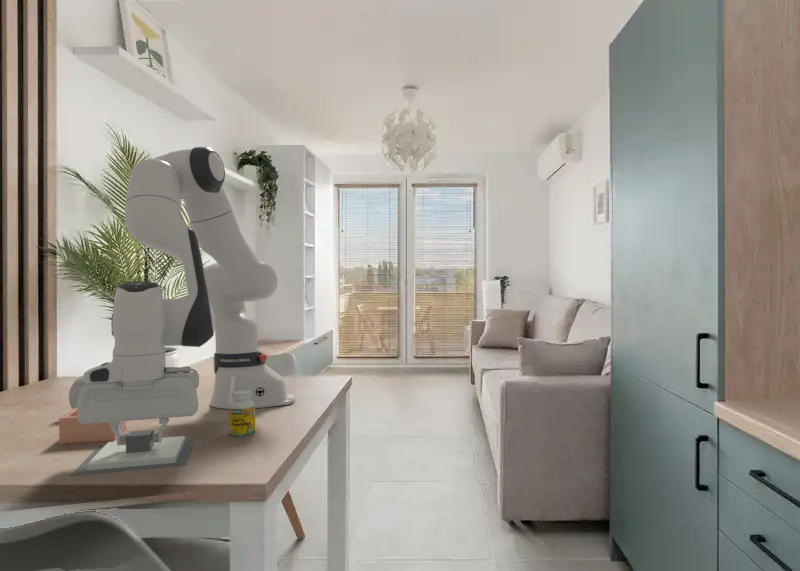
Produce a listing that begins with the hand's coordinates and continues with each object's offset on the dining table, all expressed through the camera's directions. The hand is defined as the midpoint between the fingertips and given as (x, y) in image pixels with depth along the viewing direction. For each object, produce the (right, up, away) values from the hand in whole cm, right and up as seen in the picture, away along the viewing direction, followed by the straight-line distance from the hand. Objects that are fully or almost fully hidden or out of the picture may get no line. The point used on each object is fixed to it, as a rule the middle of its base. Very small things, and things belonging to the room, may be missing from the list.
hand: (140, 443), depth 99 cm
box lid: (0, -2, 0) cm, 2 cm away
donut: (-32, -4, +38) cm, 50 cm away
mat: (0, -3, 0) cm, 3 cm away
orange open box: (-16, -3, +13) cm, 21 cm away
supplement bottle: (+15, -3, +14) cm, 21 cm away
